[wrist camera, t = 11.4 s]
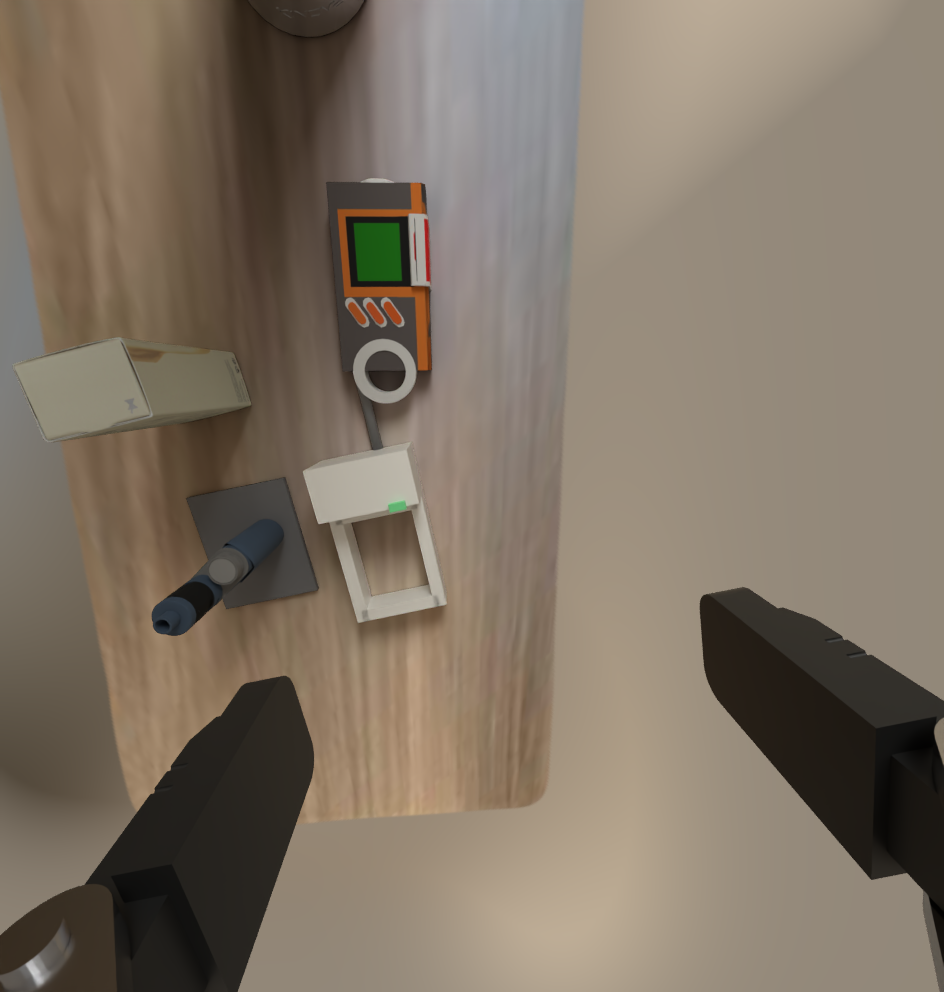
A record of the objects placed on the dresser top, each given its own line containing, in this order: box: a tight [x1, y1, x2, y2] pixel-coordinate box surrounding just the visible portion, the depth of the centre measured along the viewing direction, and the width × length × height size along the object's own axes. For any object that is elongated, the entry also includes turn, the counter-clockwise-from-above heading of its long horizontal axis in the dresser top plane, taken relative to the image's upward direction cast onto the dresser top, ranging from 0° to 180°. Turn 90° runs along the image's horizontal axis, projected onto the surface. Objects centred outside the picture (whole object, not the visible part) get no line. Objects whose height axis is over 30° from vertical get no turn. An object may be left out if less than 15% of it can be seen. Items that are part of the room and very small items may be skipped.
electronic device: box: [326, 178, 432, 404], centre depth 34 cm, size 7×3×15 cm
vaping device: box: [152, 519, 284, 636], centre depth 33 cm, size 3×5×12 cm, turn 135°
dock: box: [303, 384, 447, 623], centre depth 35 cm, size 24×8×5 cm, turn 11°
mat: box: [186, 478, 319, 609], centre depth 39 cm, size 10×8×1 cm
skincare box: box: [12, 337, 251, 442], centre depth 30 cm, size 6×4×12 cm
